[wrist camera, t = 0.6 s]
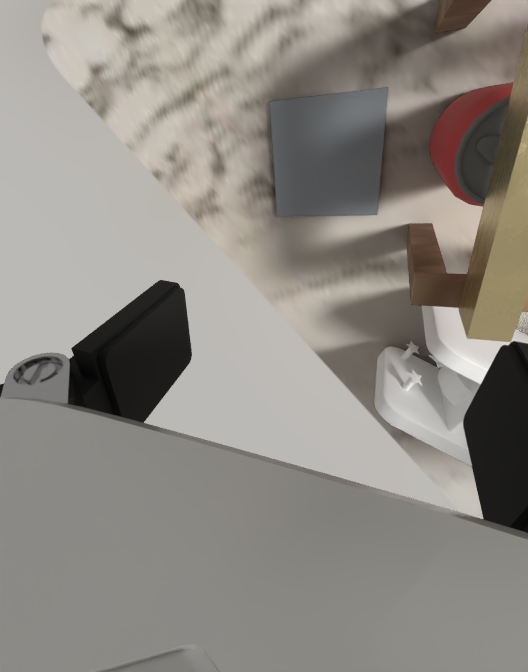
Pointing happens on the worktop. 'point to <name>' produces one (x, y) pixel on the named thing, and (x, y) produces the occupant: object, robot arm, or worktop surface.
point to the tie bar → (502, 229)
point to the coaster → (328, 153)
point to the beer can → (470, 141)
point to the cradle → (422, 247)
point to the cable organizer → (435, 381)
